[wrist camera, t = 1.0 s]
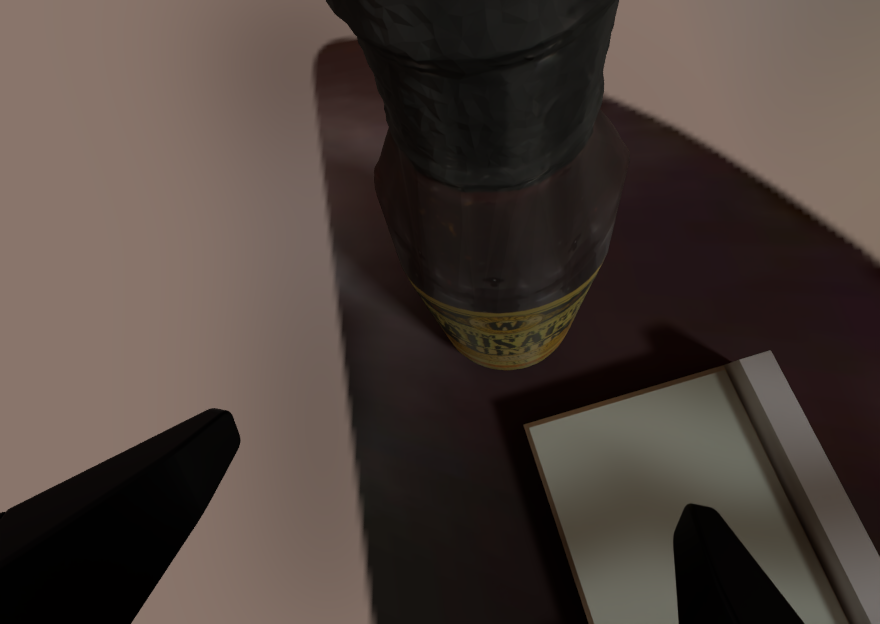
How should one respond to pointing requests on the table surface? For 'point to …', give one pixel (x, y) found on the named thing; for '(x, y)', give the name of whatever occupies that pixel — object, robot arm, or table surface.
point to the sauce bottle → (495, 161)
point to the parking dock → (703, 495)
